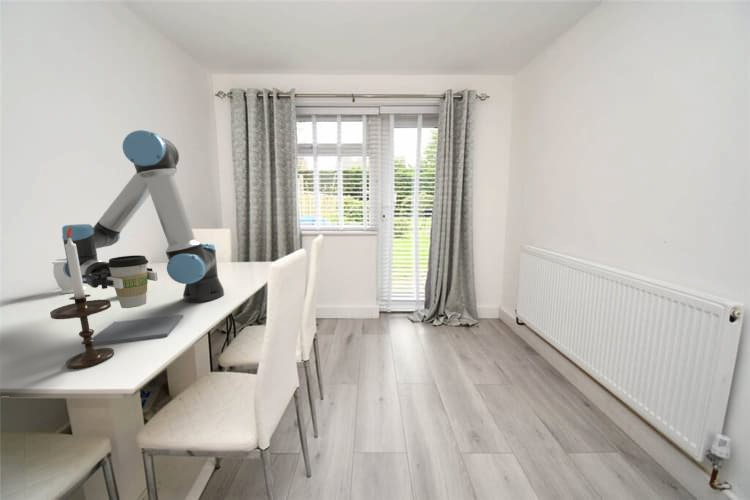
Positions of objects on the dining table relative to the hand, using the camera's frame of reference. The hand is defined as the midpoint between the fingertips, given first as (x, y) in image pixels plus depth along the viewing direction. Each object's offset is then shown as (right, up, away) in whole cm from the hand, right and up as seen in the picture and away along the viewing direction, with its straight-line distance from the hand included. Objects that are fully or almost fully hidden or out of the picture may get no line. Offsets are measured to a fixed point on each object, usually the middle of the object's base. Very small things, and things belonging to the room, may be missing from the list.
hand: (139, 280), depth 89 cm
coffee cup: (-4, -8, +3) cm, 10 cm away
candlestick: (-3, -20, -12) cm, 23 cm away
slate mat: (-4, -17, +5) cm, 18 cm away
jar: (-68, -10, +47) cm, 84 cm away
